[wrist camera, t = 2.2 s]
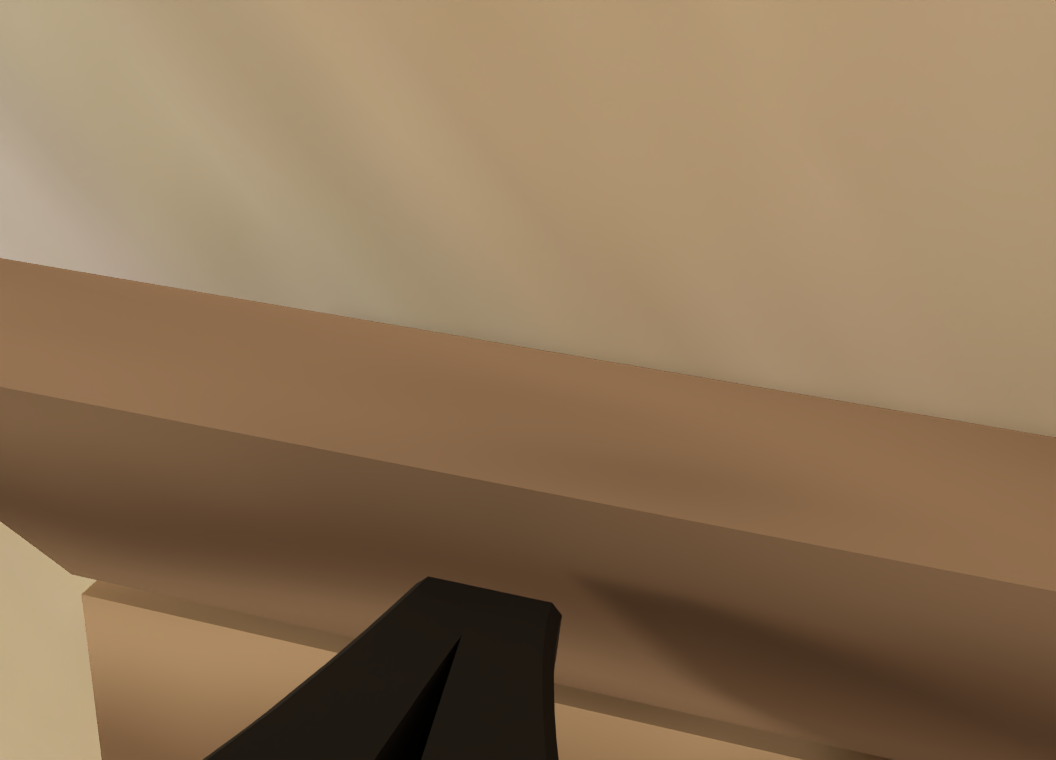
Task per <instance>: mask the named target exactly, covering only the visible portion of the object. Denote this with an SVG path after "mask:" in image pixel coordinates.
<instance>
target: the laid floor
mask: <svg viewBox="0 0 1056 760" xmlns="http://www.w3.org/2000/svg"><path fill="white" fill-rule="evenodd" d="M82 602H83V610H84V618H85V626H86V634H87V642H88V651H89V659H90V667H91V675H92V683H93V691H94V699H95V708H96V716H97V724H98V732H99V740H100V748H101V757H102V760H203V759H204V758H205V757H207V756H208V755H209V754H211V753H212V752H214V751H215V750H216V749H218V748H219V747H220V746H222V745H223V744H224V743H226V742H227V741H229V740H230V739H231V738H233V737H234V736H235V735H237V734H238V733H239V732H241V731H242V730H243V729H245V728H246V727H248V726H249V725H250V724H251V723H253V722H254V721H255V720H257V719H258V718H259V717H261V716H262V715H263V714H264V713H266V712H267V711H268V710H269V709H271V708H272V707H273V706H274V705H276V704H277V703H278V702H279V701H281V700H282V699H283V698H284V697H285V696H287V695H288V694H289V693H290V692H292V691H293V690H294V689H295V688H296V687H298V686H299V685H300V684H301V683H303V682H304V681H305V680H306V679H308V678H309V677H310V676H311V675H312V674H314V673H315V672H316V671H317V670H319V669H320V668H321V667H322V666H324V665H325V664H326V663H327V662H328V661H330V660H331V659H332V658H333V657H334V656H335V655H337V654H338V653H339V652H340V651H341V650H342V649H344V648H345V647H346V646H347V645H348V644H349V643H350V642H352V641H353V640H354V639H355V638H352V637H348V636H343V635H339V634H334V633H330V632H326V631H321V630H317V629H312V628H308V627H303V626H299V625H295V624H290V623H286V622H281V621H277V620H272V619H268V618H264V617H259V616H255V615H250V614H246V613H241V612H237V611H233V610H228V609H224V608H219V607H215V606H210V605H206V604H201V603H197V602H193V601H188V600H184V599H179V598H175V597H170V596H166V595H162V594H157V593H153V592H148V591H144V590H139V589H135V588H131V587H126V586H122V585H117V584H113V583H108V582H104V581H100V580H97V581H96V582H95V583H94V584H93V585H91V586H90V587H89V588H88V589H87V590H86V591H85V592H84V593H83V594H82ZM554 703H555V724H556V738H557V748H558V757H559V760H893V759H888V758H884V757H879V756H875V755H870V754H866V753H862V752H857V751H853V750H848V749H844V748H839V747H835V746H831V745H826V744H822V743H817V742H813V741H808V740H804V739H800V738H795V737H791V736H786V735H782V734H777V733H773V732H769V731H764V730H760V729H755V728H751V727H746V726H742V725H738V724H733V723H729V722H724V721H720V720H715V719H711V718H706V717H702V716H698V715H693V714H689V713H684V712H680V711H675V710H671V709H667V708H662V707H658V706H653V705H649V704H644V703H640V702H636V701H631V700H627V699H622V698H618V697H613V696H609V695H605V694H600V693H596V692H591V691H587V690H582V689H578V688H574V687H569V686H565V685H560V684H556V683H554Z"/></svg>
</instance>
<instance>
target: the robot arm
mask: <svg viewBox="0 0 1056 760" xmlns="http://www.w3.org/2000/svg"><path fill="white" fill-rule="evenodd" d="M561 620H562V615H561V613H560V612H559V611H558V610H557V608H556V607H555V606H554V604H553V603H552V602H547V601H542V600H538V599H533V598H528V597H523V596H519V595H514V594H509V593H505V592H500V591H495V590H491V589H486V588H481V587H476V586H472V585H467V584H462V583H458V582H453V581H448V580H443V579H439V578H434V577H429V576H428V577H426V578H424V579H423V580H421V581H420V582H418V583H416V584H415V585H414V586H413V587H412V588H411V589H410V590H409V591H408V592H406V593H405V594H404V595H403V596H402V597H401V598H400V599H399V600H398V601H397V602H396V603H394V604H393V605H392V606H391V607H390V608H389V609H388V610H387V611H386V612H384V613H383V614H382V615H381V616H380V617H379V618H378V619H377V620H376V621H374V622H373V623H372V624H371V625H370V626H369V627H368V628H367V629H365V630H364V631H363V632H362V633H361V634H360V635H359V636H357V637H356V638H355V639H354V640H353V641H352V642H350V643H349V644H348V645H347V646H346V647H345V648H344V649H342V650H341V651H340V652H339V653H338V654H337V655H335V656H334V657H333V658H332V659H331V660H330V661H328V662H327V663H326V664H325V665H324V666H322V667H321V668H320V669H319V670H317V671H316V672H315V673H314V674H312V675H311V676H310V677H309V678H308V679H306V680H305V681H304V682H303V683H301V684H300V685H299V686H298V687H296V688H295V689H294V690H293V691H292V692H290V693H289V694H288V695H287V696H285V697H284V698H283V699H282V700H281V701H279V702H278V703H277V704H276V705H274V706H273V707H272V708H271V709H269V710H268V711H267V712H266V713H264V714H263V715H262V716H261V717H259V718H258V719H257V720H255V721H254V722H253V723H251V724H250V725H249V726H248V727H246V728H245V729H243V730H242V731H241V732H239V733H238V734H237V735H235V736H234V737H233V738H231V739H230V740H229V741H227V742H226V743H224V744H223V745H222V746H220V747H219V748H218V749H216V750H215V751H214V752H212V753H211V754H209V755H208V756H207V757H205V758H204V759H203V760H559V757H558V748H557V738H556V724H555V703H554V669H555V662H556V655H557V648H558V641H559V634H560V627H561Z"/></svg>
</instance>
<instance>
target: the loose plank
mask: <svg viewBox="0 0 1056 760" xmlns="http://www.w3.org/2000/svg"><path fill="white" fill-rule="evenodd" d="M0 521H1V522H2V523H3V524H5V525H6V526H8V527H9V528H10V529H12V530H13V531H14V532H16V533H17V534H18V535H20V536H21V537H22V538H24V539H25V540H26V541H28V542H29V543H30V544H32V545H33V546H34V547H36V548H37V549H38V550H40V551H41V552H43V553H44V554H45V555H47V556H48V557H49V558H51V559H52V560H53V561H55V562H56V563H57V564H59V565H60V566H61V567H63V568H64V569H65V570H67V571H68V572H69V573H71V574H73V575H77V576H82V577H86V578H91V579H95V580H100V581H104V582H108V583H113V584H117V585H122V586H126V587H131V588H135V589H139V590H144V591H148V592H153V593H157V594H162V595H166V596H170V597H175V598H179V599H184V600H188V601H193V602H197V603H201V604H206V605H210V606H215V607H219V608H224V609H228V610H233V611H237V612H241V613H246V614H250V615H255V616H259V617H264V618H268V619H272V620H277V621H281V622H286V623H290V624H295V625H299V626H303V627H308V628H312V629H317V630H321V631H326V632H330V633H334V634H339V635H343V636H348V637H352V638H356V637H357V636H359V635H360V634H361V633H362V632H363V631H364V630H365V629H367V628H368V627H369V626H370V625H371V624H372V623H373V622H374V621H376V620H377V619H378V618H379V617H380V616H381V615H382V614H383V613H384V612H386V611H387V610H388V609H389V608H390V607H391V606H392V605H393V604H394V603H396V602H397V601H398V600H399V599H400V598H401V597H402V596H403V595H404V594H405V593H406V592H408V591H409V590H410V589H411V588H412V587H413V586H414V585H415V584H416V583H418V582H420V581H421V580H423V579H424V578H426V577H428V576H429V577H434V578H439V579H443V580H448V581H453V582H458V583H462V584H467V585H472V586H476V587H481V588H486V589H491V590H495V591H500V592H505V593H509V594H514V595H519V596H523V597H528V598H533V599H538V600H542V601H547V602H552V603H553V604H554V606H555V607H556V608H557V610H558V611H559V612H560V613H561V615H562V620H561V627H560V634H559V641H558V648H557V655H556V662H555V669H554V683H556V684H560V685H565V686H569V687H574V688H578V689H582V690H587V691H591V692H596V693H600V694H605V695H609V696H613V697H618V698H622V699H627V700H631V701H636V702H640V703H644V704H649V705H653V706H658V707H662V708H667V709H671V710H675V711H680V712H684V713H689V714H693V715H698V716H702V717H706V718H711V719H715V720H720V721H724V722H729V723H733V724H738V725H742V726H746V727H751V728H755V729H760V730H764V731H769V732H773V733H777V734H782V735H786V736H791V737H795V738H800V739H804V740H808V741H813V742H817V743H822V744H826V745H831V746H835V747H839V748H844V749H848V750H853V751H857V752H862V753H866V754H870V755H875V756H879V757H884V758H888V759H893V760H1056V438H1055V437H1049V436H1043V435H1037V434H1031V433H1025V432H1019V431H1013V430H1008V429H1002V428H996V427H990V426H984V425H978V424H972V423H966V422H961V421H955V420H949V419H943V418H937V417H931V416H925V415H919V414H913V413H908V412H902V411H896V410H890V409H884V408H878V407H872V406H866V405H861V404H855V403H849V402H843V401H837V400H831V399H825V398H819V397H813V396H808V395H802V394H796V393H790V392H784V391H778V390H772V389H766V388H761V387H755V386H749V385H743V384H737V383H731V382H725V381H719V380H713V379H708V378H702V377H696V376H690V375H684V374H678V373H672V372H666V371H661V370H655V369H649V368H643V367H637V366H631V365H625V364H619V363H613V362H608V361H602V360H596V359H590V358H584V357H578V356H572V355H566V354H561V353H555V352H549V351H543V350H537V349H531V348H525V347H519V346H513V345H508V344H502V343H496V342H490V341H484V340H478V339H472V338H466V337H461V336H455V335H449V334H443V333H437V332H431V331H425V330H419V329H413V328H408V327H402V326H396V325H390V324H384V323H378V322H372V321H366V320H361V319H355V318H349V317H343V316H337V315H331V314H325V313H319V312H313V311H308V310H302V309H296V308H290V307H284V306H278V305H272V304H266V303H261V302H255V301H249V300H243V299H237V298H231V297H225V296H219V295H213V294H208V293H202V292H196V291H190V290H184V289H178V288H172V287H166V286H161V285H155V284H149V283H143V282H137V281H131V280H125V279H119V278H113V277H108V276H102V275H96V274H90V273H84V272H78V271H72V270H66V269H61V268H55V267H49V266H43V265H37V264H31V263H25V262H19V261H13V260H8V259H2V258H0Z"/></svg>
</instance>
